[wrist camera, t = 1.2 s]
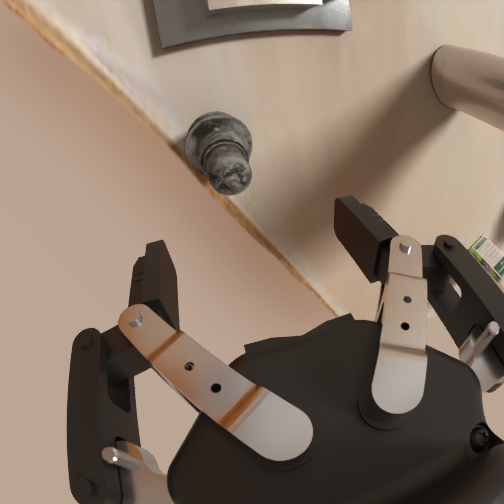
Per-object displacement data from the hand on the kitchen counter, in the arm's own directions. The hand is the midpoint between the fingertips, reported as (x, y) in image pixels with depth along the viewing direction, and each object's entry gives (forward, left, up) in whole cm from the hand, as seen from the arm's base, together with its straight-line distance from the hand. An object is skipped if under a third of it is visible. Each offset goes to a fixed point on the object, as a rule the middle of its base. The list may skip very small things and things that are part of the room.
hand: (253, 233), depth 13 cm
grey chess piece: (0, 0, -17) cm, 17 cm away
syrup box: (-52, +30, -17) cm, 63 cm away
